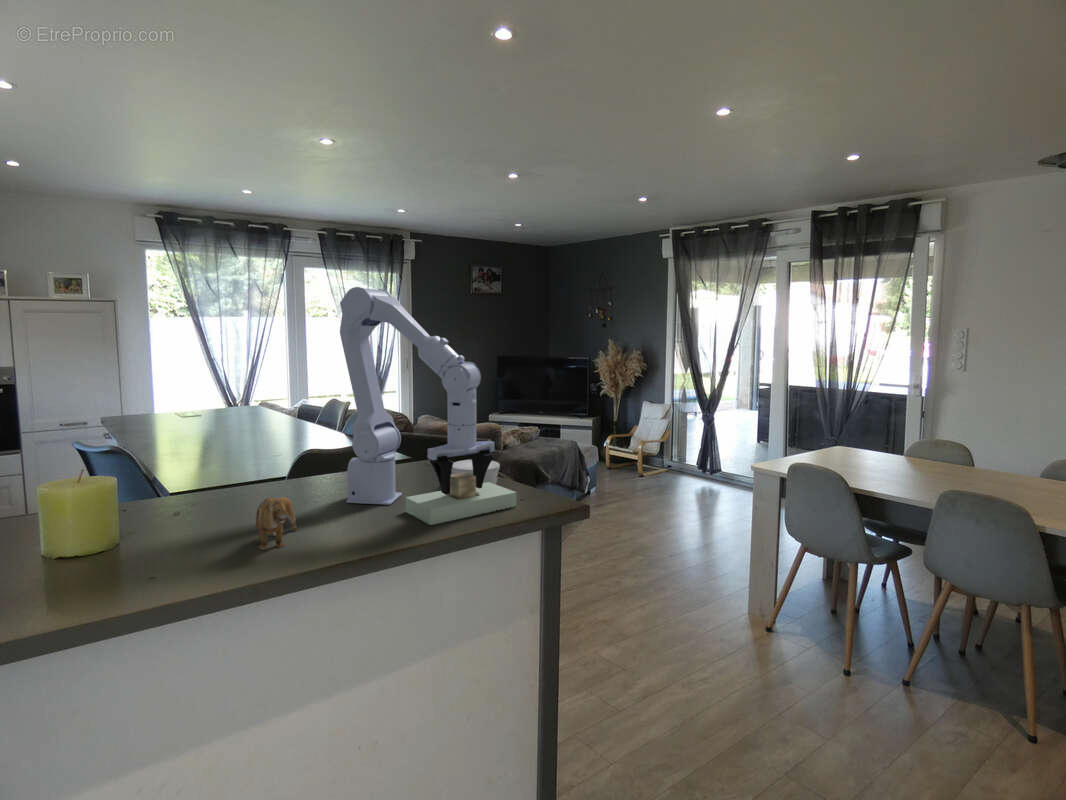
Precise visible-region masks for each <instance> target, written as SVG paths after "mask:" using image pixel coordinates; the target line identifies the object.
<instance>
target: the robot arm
mask: <svg viewBox="0 0 1066 800" xmlns="http://www.w3.org/2000/svg"><path fill="white" fill-rule="evenodd" d="M339 304H340V309H341V313H342V314H341V318H340V319H341V320H340V327H339V335H340V341H341V343H342V345H341V346H342V349H343V354H344V357H345V358H344V359H345V363H346V367H347V371H348V376H349V379H350V384H351V390H352V394H353V397H354V398H353V399H354V402H355V403H354V404H355V407H356V412H357V418H355V421H354V422H353V425H352V432H353V434H352V435H353V436H352V443H351V445H352V450H353V452H354V454H355V455H356V456H357V457H352V458H351V459H349V462H348V464H347V470H346V480H347V481H346V482H347V484H346V485H347V500H346V503H347V504H348V503H349V504H364V505H365V504H366V505H368V504H369V505H392V504H393V503H394V502H395V501H396V500H398V498H400V497H401V496H402V494H403V493H402V491H401V492H399V491H396V456H397V455H396V453H397V450H398V448H400V446H401V442H402V435H401V433H400V430H399V429H398V427H397V426H396V424H395V421H394V417H393V416H392V415H391V414H390V413H389V412H388V411H386V409H385V405H384V401H383V397H382V396H383V395H382V392H381V389H380V388H381V386H380V384H379V378H378V374H377V373H378V372H377V370H376V365H375V361H374V357H373V352H372V348H371V342H370V339H369V338H370V336H371V334H372V333H373V332H374V330H375V328H376V327H378V326H379V325H380V324H381V323H387V324H390V325H391V326H392V327H393V328H394V329H395V330H397V331H398V332H399V333H401V335H403V336H404V337H405V338H406V339H407V340H408V341H410V343H412V344H413V345H414V346H415V347H417V352H418V358H420V359H421V361H423V362H424V363H425V364H426V365H427V366H428V367H429V368H430V369H431V370H432V371H433V372H434V373H435V374H436V375H438V377H439V378H441V383H442V387H443V388H444V390H445V391H446V393H447V396H446V397H447V402H446V403H447V443H446V444H444V445H440V446H436V447H431V448H427V459H428V460H429V462H430V464H431V466H432V468H433V470H434V472H435V474H436V476H437V480H438V483H439V486H440V491H441V492H442V493H444V494H446V495H447V494H450V477H451V475H452V466H453V463H454V462H453V461H452V460H449V458H450V457H451V458H452V457H458V456H466V455H470V458H471V459H470V460H472V465H473V475H474V476H476V487H477V488H479V489H480V488H482V485H483V481H484V477H485V474H486V471H487V469H488V467H489V465H490V463H491V461H494V453H492V452H495V441H491V440H486V441H477V388H478V386H479V385H480V383H481V379H482V374H481V371H480V368H478V366H477V364H476V363H474V362H472V361H465V359H466V358H465V356H463V355H460V354H458V353H457V352H456V351H455V350H454V349H453V348H452V347H451V346H450V345H449V342H450V341H449V340H448V339H447V338H445V337H440V336H438V335H432V336H431V335H429V333H428V332H427V331H426V330H425V328H423V327H422V326H421V325H420V324H419V323H418V321H417V320H415V318H414V317H413V316H412V315H411V314H410V313H409V312H408V311H407V310H406V309H405V308H404V307H403V306H402V304H401V303H400V301H399V300H398V299H397V298H396V297H394V296H393V295H392V294H391V293H390V292H389V291H388V290H385V289H381V288H380V289H378V288H377V289H373V288H364V287H359V286H354V287H351V288H350V289H348V291H346V292H345V294H344V296H343V298H342V299H341V301H340V302H339Z"/></svg>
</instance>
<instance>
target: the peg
mask: <svg viewBox="0 0 1066 800" xmlns="http://www.w3.org/2000/svg"><path fill="white" fill-rule="evenodd" d="M448 496H450V497H452V498H454V499H457V500H460V499H465V498H470V497H476V476H474V475H471V474H468V473H466V472H464V473H458V474H452V473H451V477H450V494H448Z"/></svg>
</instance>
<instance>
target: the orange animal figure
mask: <svg viewBox="0 0 1066 800" xmlns="http://www.w3.org/2000/svg"><path fill="white" fill-rule="evenodd" d="M289 520H290V522H291V526H290V528H289V530H290V531H297V529H298V528H297V519H296V517H295V514H294V506H293V503H292V500H291V499H289V498H287V497H285V496H281V497H279V498H277V497H269V498H266V499H264V500H263V501H262V502H261V503H260V504H259V506H258V508H257V510H256V517H255V524H256V528H257V529H259V530H258V532H259V538H260V542H261V544H260V545H259V546H258V549H259V548H261V549H260V550H263V549H262V548H266V547H267V548H268V546H269V543H268V540H267V539H268V538H267V534H268V536H269V537H275V546H276V547H277V548H279V547H280V548H283V547H285V543H284V541H283V532H284V529H283V527H284V526H285V525H288V522H289ZM282 546H283V547H282ZM267 548H266V549H267Z"/></svg>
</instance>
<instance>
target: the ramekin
mask: <svg viewBox="0 0 1066 800" xmlns="http://www.w3.org/2000/svg"><path fill="white" fill-rule="evenodd" d="M500 467H501V465H500V462H498V461H495V460H492V461H491V463H490V465H489V467H488V469H487V471H486V474H485V477H484V481H483V483H487V482H490V483H493V484H495V485H497V481H498V476H499V470H500ZM464 472H466V473H468V474H471V475H473V465H472V459H464V460H458V461H455V462H453V466H452V470H451V475H452V474H458V473H464ZM496 476H497V477H496Z"/></svg>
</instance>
